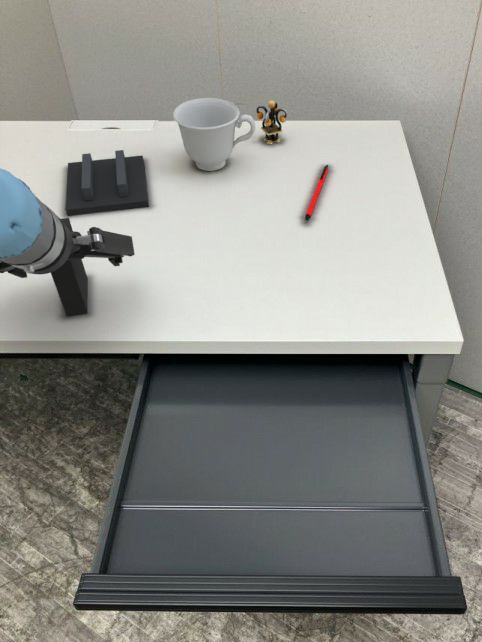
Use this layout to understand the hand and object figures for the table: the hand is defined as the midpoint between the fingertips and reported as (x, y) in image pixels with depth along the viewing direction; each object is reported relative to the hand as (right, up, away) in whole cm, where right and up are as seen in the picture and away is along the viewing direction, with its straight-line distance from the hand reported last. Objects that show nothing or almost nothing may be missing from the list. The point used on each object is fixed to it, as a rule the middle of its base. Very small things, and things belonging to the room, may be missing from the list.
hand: (69, 262), depth 86 cm
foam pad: (0, -5, +2) cm, 5 cm away
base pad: (-1, +18, +22) cm, 28 cm away
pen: (+38, +16, +21) cm, 46 cm away
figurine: (+29, +31, +34) cm, 54 cm away
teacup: (+19, +24, +28) cm, 41 cm away
